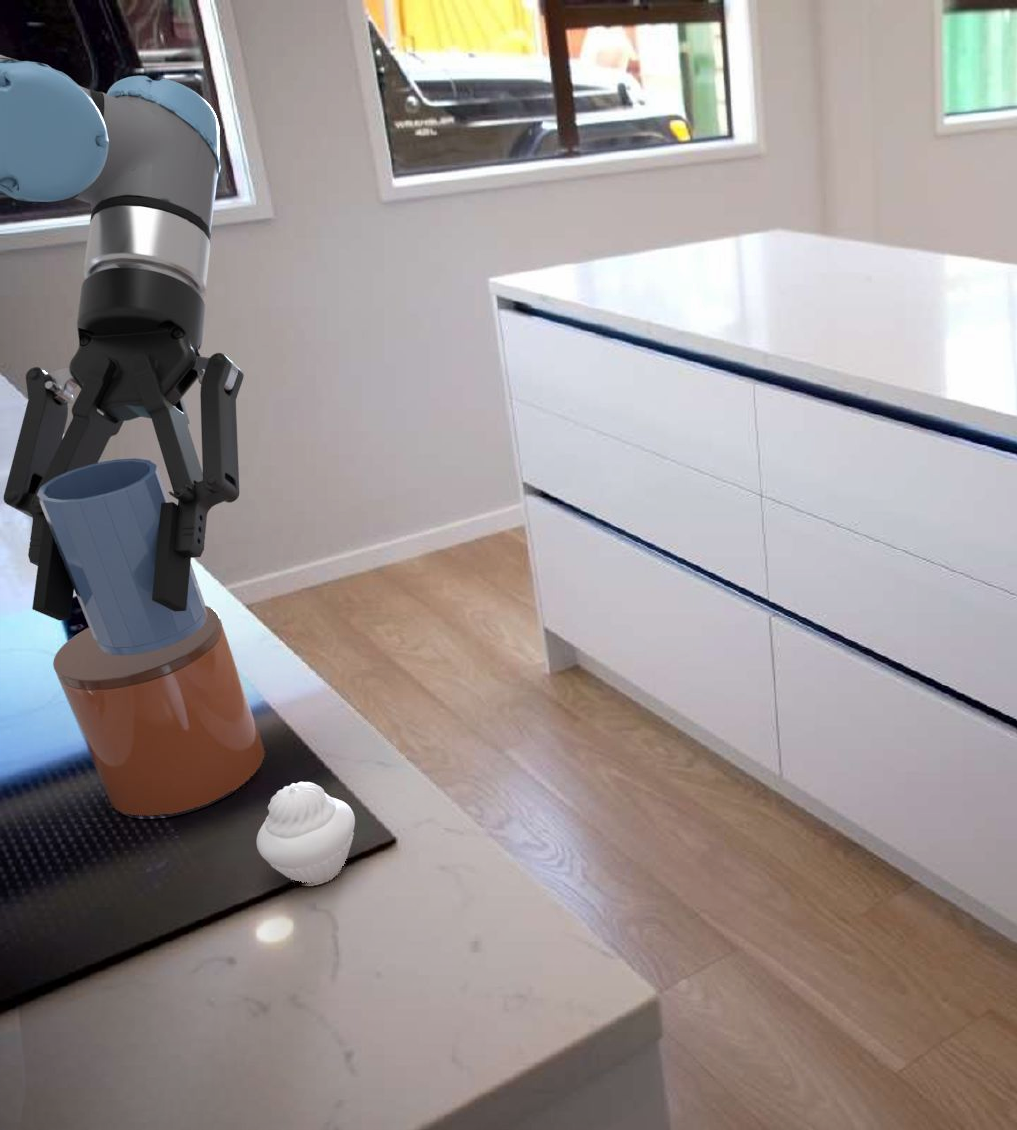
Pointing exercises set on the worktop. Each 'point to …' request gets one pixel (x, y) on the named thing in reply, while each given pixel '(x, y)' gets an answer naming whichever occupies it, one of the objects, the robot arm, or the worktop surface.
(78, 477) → the cup
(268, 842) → the muffin
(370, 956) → the worktop surface
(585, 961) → the worktop surface
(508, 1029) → the worktop surface
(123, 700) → the canister
